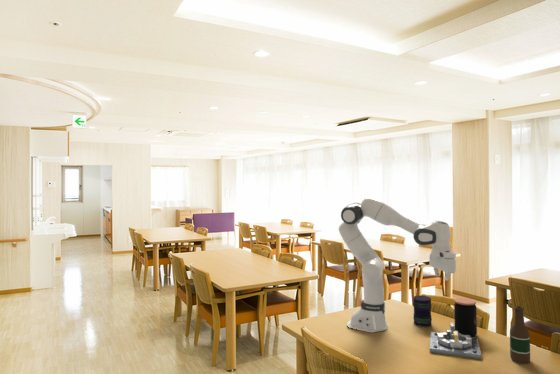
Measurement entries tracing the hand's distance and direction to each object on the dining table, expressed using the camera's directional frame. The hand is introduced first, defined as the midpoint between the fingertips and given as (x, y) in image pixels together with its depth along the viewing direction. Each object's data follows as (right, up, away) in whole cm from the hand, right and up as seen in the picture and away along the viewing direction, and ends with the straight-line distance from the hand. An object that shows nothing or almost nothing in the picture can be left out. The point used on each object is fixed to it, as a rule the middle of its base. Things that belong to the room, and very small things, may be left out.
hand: (441, 278), depth 203 cm
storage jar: (-3, -31, +19) cm, 37 cm away
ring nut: (+1, -28, -13) cm, 31 cm away
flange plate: (+1, -31, -13) cm, 33 cm away
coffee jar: (+14, -31, +3) cm, 34 cm away
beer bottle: (+23, -30, -29) cm, 48 cm away
